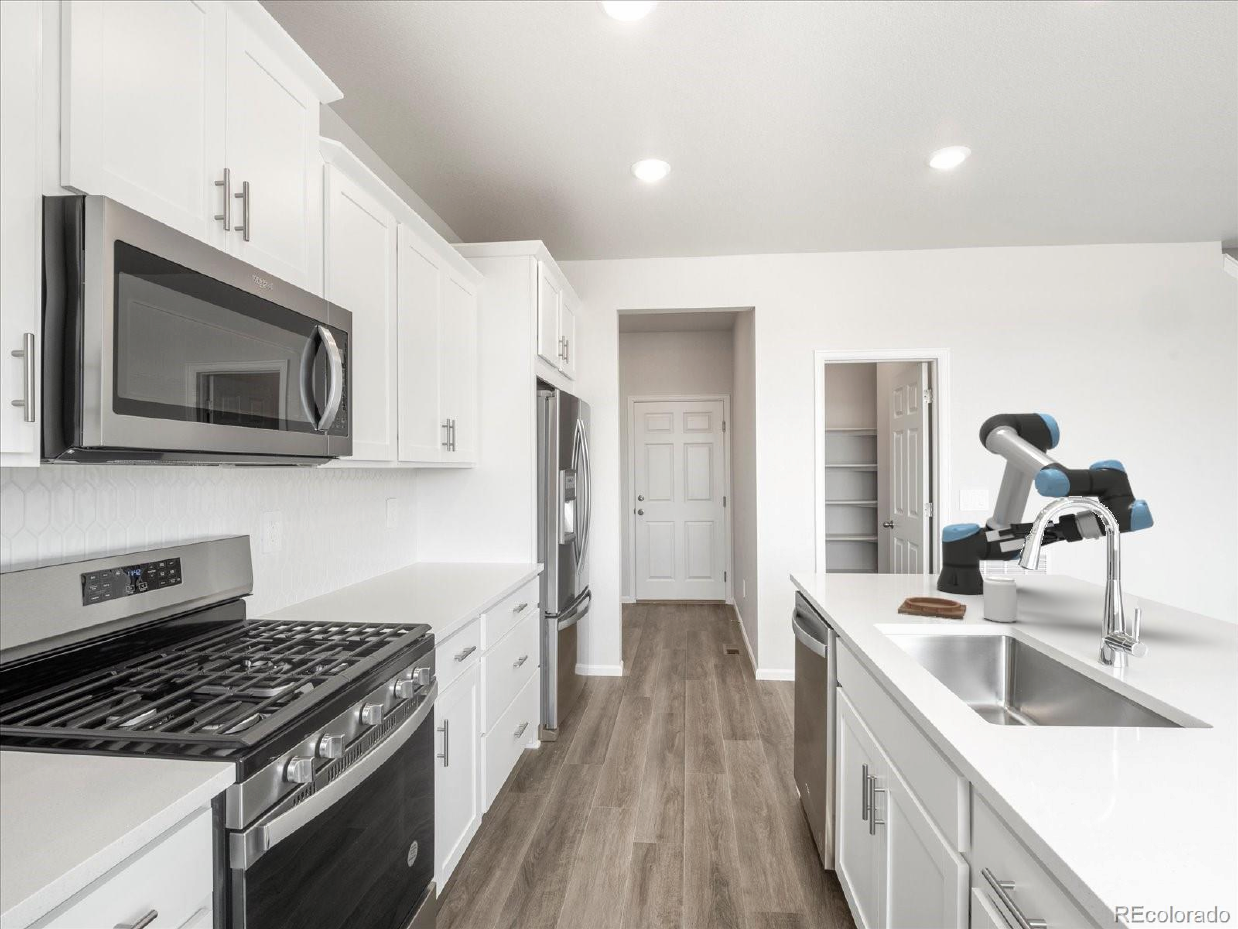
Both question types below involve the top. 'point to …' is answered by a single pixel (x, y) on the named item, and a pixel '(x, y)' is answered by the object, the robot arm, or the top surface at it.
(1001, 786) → the top surface
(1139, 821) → the top surface
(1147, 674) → the top surface
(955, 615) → the coaster board
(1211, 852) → the top surface
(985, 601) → the beverage can
